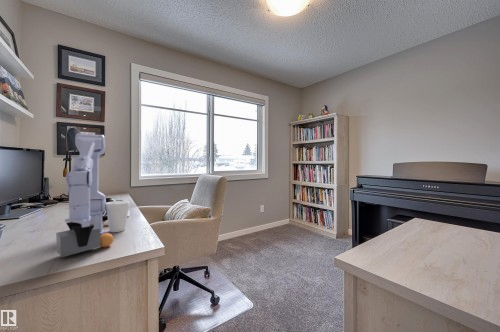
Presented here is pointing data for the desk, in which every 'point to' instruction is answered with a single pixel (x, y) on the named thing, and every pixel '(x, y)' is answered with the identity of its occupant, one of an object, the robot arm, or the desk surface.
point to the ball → (106, 240)
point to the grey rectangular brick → (75, 242)
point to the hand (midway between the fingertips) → (80, 243)
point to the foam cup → (117, 215)
